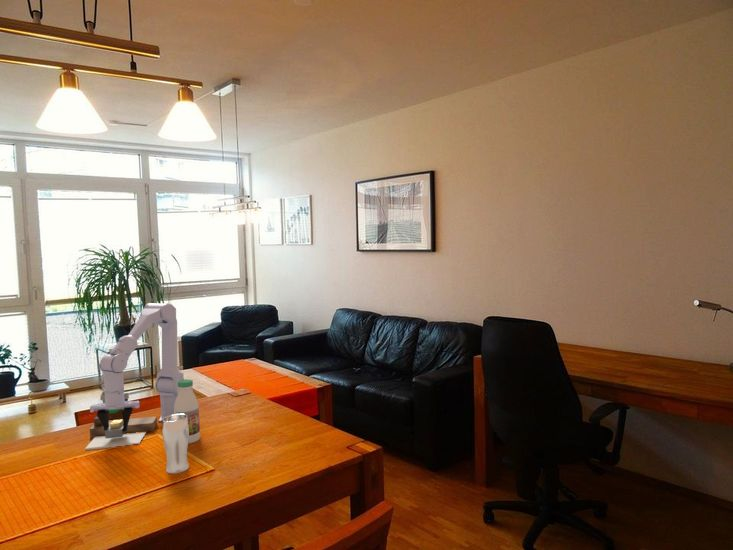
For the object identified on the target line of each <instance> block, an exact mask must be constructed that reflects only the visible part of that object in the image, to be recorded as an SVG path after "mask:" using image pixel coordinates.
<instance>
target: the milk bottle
mask: <svg viewBox="0 0 733 550" xmlns="http://www.w3.org/2000/svg"><path fill="white" fill-rule="evenodd" d="M193 385H194V382H193V379H189V378H188V379H185V378H184V380H180V381H178V389H179V393H178V396H177V399H176V401H175V405H174V414H186V415H187V417H188V425H189V440H188V445H190V444H194V443H196V442H198V441H200V438H201V431H200V429H201V426H200V408H199V402H198V401H199V400H198V399H197V397H196V395H195V392H194V390H193V387H194V386H193Z"/></svg>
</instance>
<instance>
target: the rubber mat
mask: <svg viewBox="0 0 733 550" xmlns="http://www.w3.org/2000/svg"><path fill="white" fill-rule="evenodd" d="M145 434H146V435H147V432H139V433H129V434H124V435H123V436H122V437H116V438H106V439H105V436H99V437H93V439H92V440H91V441H90V442H89V443H88V445H87V446H86V447H85V448H84V451H89V450H100V449H110V447H111V448H117V447H116V446H121V447H126V446H125V445H130V446H134V445H133V444H141V443H142V441H143V440H142V439H144V438H145V436H146V435H145ZM143 437H144V438H143ZM141 440H142V441H141ZM140 442H141V443H140Z"/></svg>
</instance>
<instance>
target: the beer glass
mask: <svg viewBox="0 0 733 550" xmlns="http://www.w3.org/2000/svg"><path fill="white" fill-rule="evenodd" d="M162 439H163V445H164V449H165V454H166V469H165V472H166V473H167V474H170V475H171V474H172V475H174V474H175V475H176V474H181V473H184V472H186V471H187V470H188V469H189V467H190V464H189V462H188V445H189V444H188V440H189V425H188V417H187V415H186V414H173V415H169V416H166V417H164V418H163V421H162Z"/></svg>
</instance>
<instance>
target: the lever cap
mask: <svg viewBox="0 0 733 550" xmlns="http://www.w3.org/2000/svg"><path fill="white" fill-rule="evenodd" d="M127 430H128V428H127ZM127 430H126V431H127ZM126 431H124V429H123V419H120V420H113V421H112V422H111V423H110V426H109V427H108V428H107V429H106V430H105V439H106V438H116V437H122V436H123V435H124V434H125V432H126Z"/></svg>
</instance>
